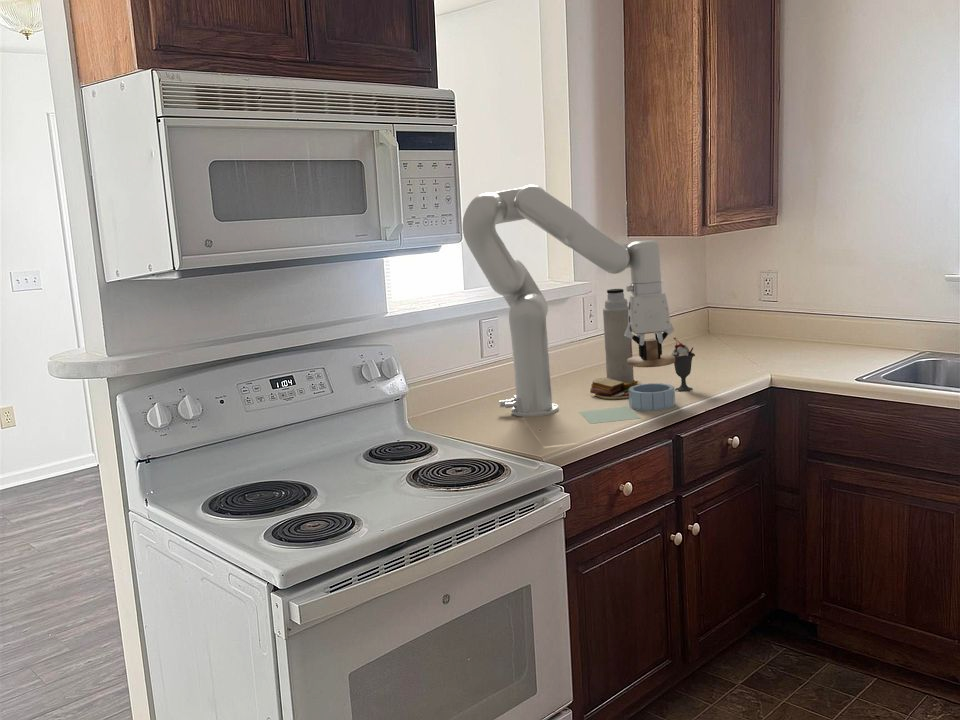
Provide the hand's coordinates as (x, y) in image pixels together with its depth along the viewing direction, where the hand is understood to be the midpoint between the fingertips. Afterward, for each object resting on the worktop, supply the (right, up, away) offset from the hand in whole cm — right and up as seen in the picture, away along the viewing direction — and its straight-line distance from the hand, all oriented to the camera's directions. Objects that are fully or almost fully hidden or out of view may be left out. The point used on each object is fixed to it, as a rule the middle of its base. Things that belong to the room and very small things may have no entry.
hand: (650, 358), depth 231 cm
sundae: (+13, -9, +19) cm, 24 cm away
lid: (0, -1, 0) cm, 1 cm away
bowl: (+1, -13, +2) cm, 13 cm away
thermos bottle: (-2, -7, +36) cm, 37 cm away
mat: (-11, -15, -4) cm, 19 cm away
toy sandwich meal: (-6, -11, +18) cm, 22 cm away
